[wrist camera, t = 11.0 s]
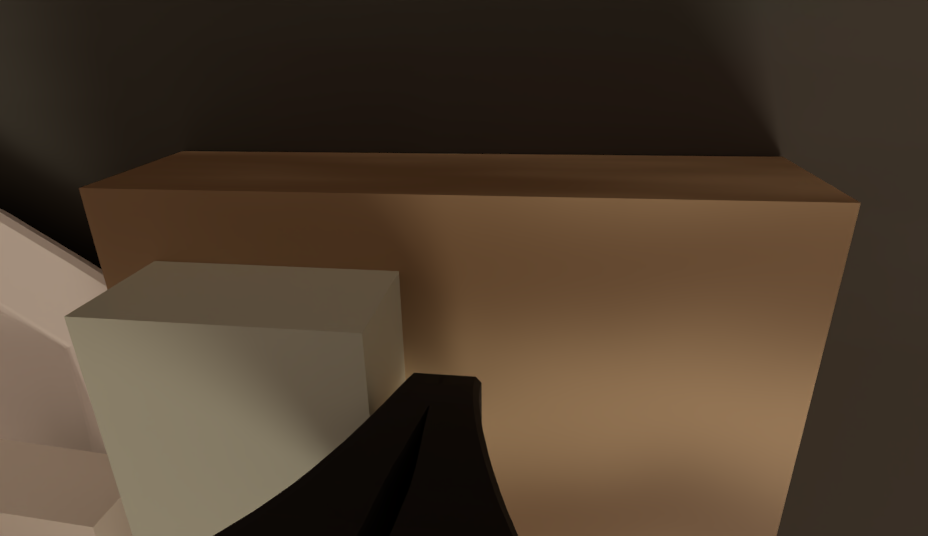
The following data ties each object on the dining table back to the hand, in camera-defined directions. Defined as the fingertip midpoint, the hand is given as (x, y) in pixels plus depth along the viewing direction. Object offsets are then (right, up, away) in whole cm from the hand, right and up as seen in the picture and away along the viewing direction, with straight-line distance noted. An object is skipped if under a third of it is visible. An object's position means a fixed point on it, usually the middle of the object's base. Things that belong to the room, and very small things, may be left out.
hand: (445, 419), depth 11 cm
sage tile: (-3, +1, +1) cm, 4 cm away
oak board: (0, -2, +6) cm, 6 cm away
